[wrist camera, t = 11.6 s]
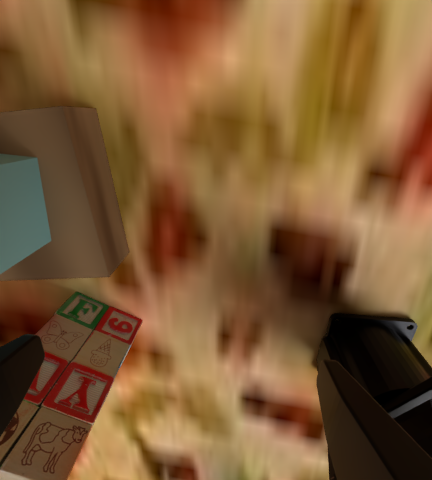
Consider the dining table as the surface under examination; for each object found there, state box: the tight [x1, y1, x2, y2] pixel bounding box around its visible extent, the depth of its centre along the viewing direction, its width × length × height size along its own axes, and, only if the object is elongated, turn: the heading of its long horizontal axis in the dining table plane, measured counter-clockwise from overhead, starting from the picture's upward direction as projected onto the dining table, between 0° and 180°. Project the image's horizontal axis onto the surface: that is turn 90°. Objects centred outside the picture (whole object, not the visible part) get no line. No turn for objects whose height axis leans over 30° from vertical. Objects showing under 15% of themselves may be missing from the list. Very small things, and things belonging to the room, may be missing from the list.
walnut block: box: [0, 106, 129, 281], centre depth 18 cm, size 10×10×4 cm
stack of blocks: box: [0, 292, 142, 480], centre depth 22 cm, size 21×6×12 cm, turn 153°
